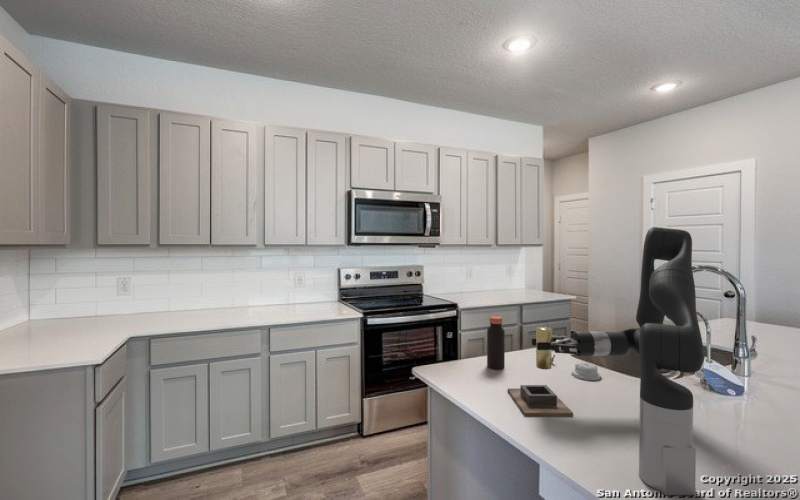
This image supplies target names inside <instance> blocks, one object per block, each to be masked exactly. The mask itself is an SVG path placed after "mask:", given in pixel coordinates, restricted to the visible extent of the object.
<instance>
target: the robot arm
mask: <svg viewBox="0 0 800 500" xmlns="http://www.w3.org/2000/svg"><path fill="white" fill-rule="evenodd" d="M692 253H693V240H692V235H691V234H690V232H689V231H687V230H683V229H679V228H677V229H675V228H666V227H656V226H655V227H654V226H653V227H650V228H649V229H648V230H647V232H646V235H645V238H644V241H643V249H642V259H641V260H642V261H641V274H640V293H639V299H638V303H637V310H636V314H635V322H636V323H637V324H638V326H639V327H632V328H627V329H623V330H620V331H597V330H595V331H593V330H592V331H591V330H588V331H587V330H586V331H584V330H583V331H581V330H580V331H577V330H576V331H573V332H572V333H571V335H570V337H568V336H566V335H561V334H551V342H550V343H549V342H538V343H537V349H538V350H550V351H551V352H554V353H556V354H569V355H574V356H576V357H604V356H605V357H606V356H624V355H626V354H627V353H628V351H629V349H631V350H634V351H635V352H636V353H637V354H638V355H639V366H640V367H639V368H640V369H639V371H640V383H639V421H638V423H639V425H638V426H639V427H638V429H639V430H638V432H639V434H638V435H639V436H638V437H639V439H638V440H639V441H638V476H639V478H640V479H641V480H642V481H643V482H644V483H645V484H646V485H647V486H649V487H651V488H653V489H655V490H657V491H659V492H661V493H662V495H664V496H695V495H696V471H697V470H696V466H697V465H696V464H697V463H696V462H697V461H696V459H697V455H696V454H697V450H696V448H695V447H694V446H693V444H694V443H693V441H694V440H693V439H694V437H693V435H694V433H693V432H694V431H693V430H694V425H693V424H694V395H693V393H692V391H691V389H689V388H687V387H686V386H684V385H682V384H680V383H678V382H676V381H673V380H671V379H669V378H668V377H666V375H664V374H663V373H661V372H660V371H659V369H661V370H662V369H663V370H666V371H667V370H668V371H674V372H681V373H696V372H699V371H700V370H701V369H702V366H703V364H704V355H705V353H704V344H703V339H702V337H703V336H702V333H701V329H700V326H699V325H700V324H699V320H698V316H697V315H698V314H697V302H696V300H697V297H696V285H695V279H694V274H693V266H692V264H693V263H692V261H693V258H692V257H693V255H692ZM655 260H659V261H666V262H664V263H663V264H662V265H661V264H660V265H659V266H658V267H657V268H656V269H655ZM665 317H666V318H667V319H669V320H670V321H671V322H672V323H673V324H664V321H665ZM531 345H532V346H536V337H532V338H531Z"/></svg>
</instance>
